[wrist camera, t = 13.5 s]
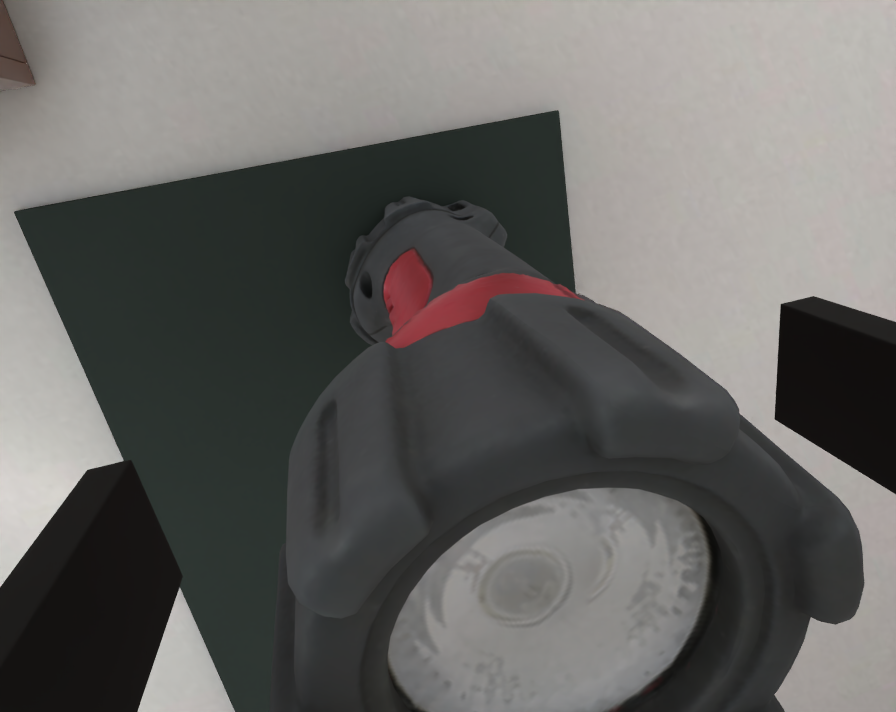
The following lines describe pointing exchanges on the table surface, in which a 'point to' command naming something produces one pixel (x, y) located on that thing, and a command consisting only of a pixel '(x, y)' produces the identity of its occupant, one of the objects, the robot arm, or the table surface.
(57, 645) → the robot arm
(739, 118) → the table surface
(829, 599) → the flashlight
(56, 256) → the mat
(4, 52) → the brown open box
